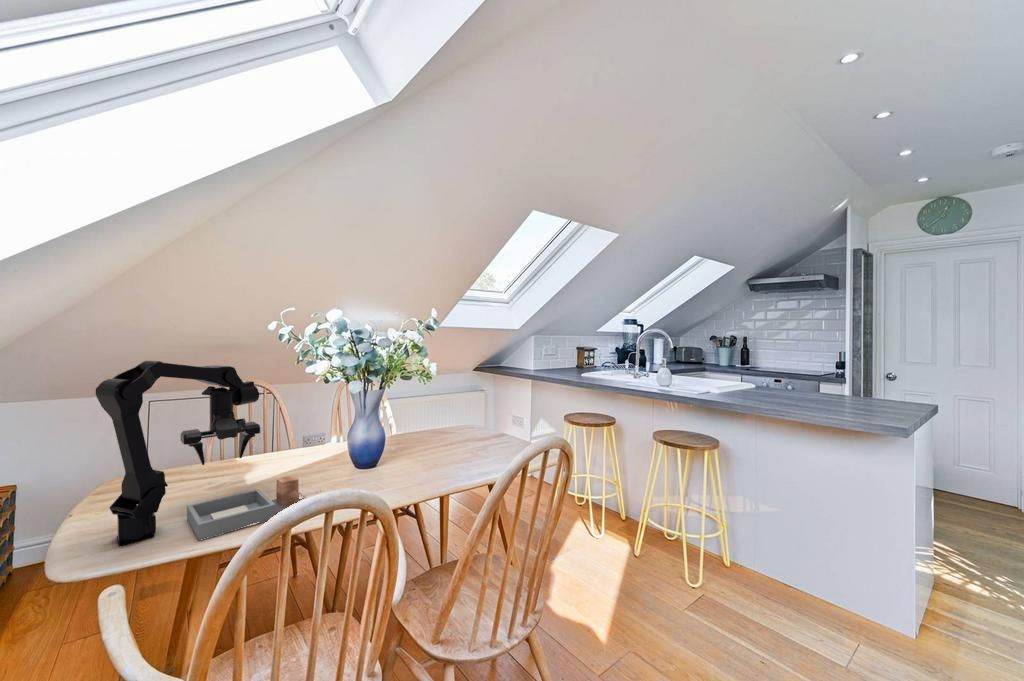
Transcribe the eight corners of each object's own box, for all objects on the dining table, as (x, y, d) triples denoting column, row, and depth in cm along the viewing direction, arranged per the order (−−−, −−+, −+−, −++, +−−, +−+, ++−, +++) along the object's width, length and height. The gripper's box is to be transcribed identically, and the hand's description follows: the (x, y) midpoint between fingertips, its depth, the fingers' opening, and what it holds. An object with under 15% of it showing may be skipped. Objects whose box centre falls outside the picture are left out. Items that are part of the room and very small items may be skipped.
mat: (274, 515, 117) (274, 513, 117) (263, 504, 124) (263, 502, 124) (312, 504, 125) (312, 502, 125) (299, 494, 132) (299, 492, 132)
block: (281, 507, 121) (281, 482, 121) (276, 502, 124) (276, 478, 124) (298, 502, 124) (298, 479, 124) (292, 498, 128) (292, 475, 127)
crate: (198, 541, 103) (198, 524, 103) (187, 520, 114) (186, 505, 113) (275, 518, 115) (275, 504, 115) (258, 502, 126) (258, 488, 126)
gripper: (187, 417, 112) (187, 476, 113) (265, 408, 126) (266, 460, 126) (179, 411, 120) (180, 466, 121) (254, 403, 133) (255, 452, 134)
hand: (222, 461), depth 125 cm, fingers open, 9 cm apart
